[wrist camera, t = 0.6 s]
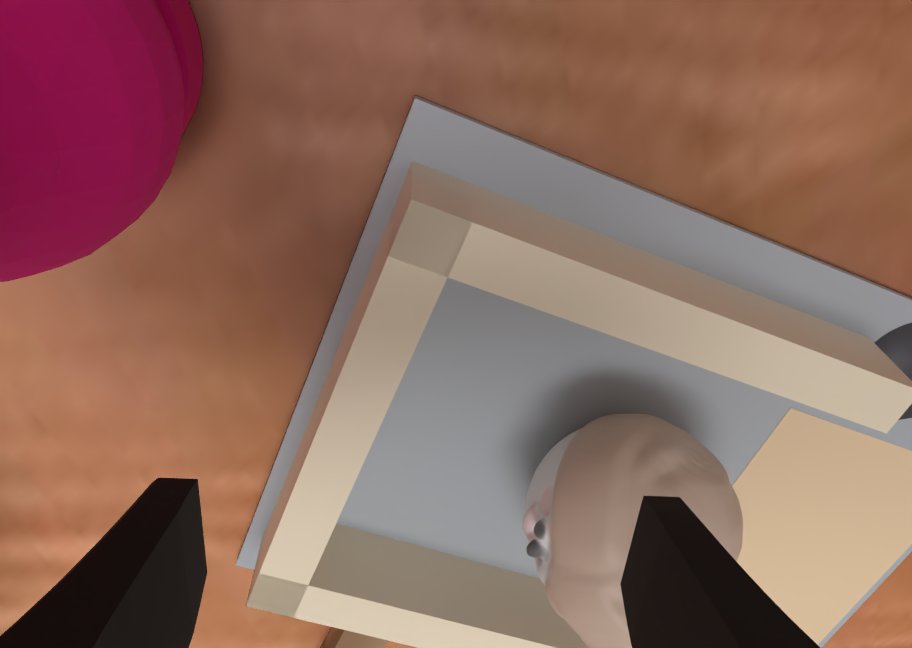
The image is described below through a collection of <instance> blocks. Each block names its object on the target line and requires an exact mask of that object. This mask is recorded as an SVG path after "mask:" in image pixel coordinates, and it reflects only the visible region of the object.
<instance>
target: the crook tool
mask: <svg viewBox="0 0 912 648" xmlns="http://www.w3.org/2000/svg"><path fill="white" fill-rule="evenodd" d="M387 642H388V640H384V639H380V638H376V637H371V636H367V635H363V634H359V633H355V632H351V631H347V630H342V629H338V628H334V627H331V629H330V631H329V633H328V635H327V637H326V638H325V640H324V642H323V644H322V646H321V648H384V647H385V646H386V644H387Z"/></svg>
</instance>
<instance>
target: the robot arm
mask: <svg viewBox="0 0 912 648" xmlns="http://www.w3.org/2000/svg"><path fill="white" fill-rule="evenodd" d="M206 575H207V566H206V556H205V546H204V537H203V527H202V517H201V507H200V497H199V488H198V479H178V478H158V479H156V480H155V481H154V482H153V483H151V485H150V486H149V487H148V488H147V489H146V490H145V491H144V492H143V493H142V495H141V496H140V497H139V498H138V499H137V500H136V501H135V502H134V504H133V505H132V506H131V507H130V508H129V509H128V510H127V511H126V512H125V514H124V515H123V516H122V517H121V518H120V519H119V520H118V521H117V522H116V523H115V525H114V526H113V527H112V528H111V529H110V530H109V531H108V532H107V533H106V534H105V535H104V536H103V537H102V539H101V540H100V541H99V542H98V543H97V544H96V545H95V546H94V547H93V548H92V549H91V550H90V551H89V552H88V553H87V554H86V555H85V556H84V557H83V558H82V559H81V560H80V561H79V562H78V563H77V564H76V565H75V566H74V567H73V568H72V569H71V570H70V571H69V572H68V573H67V574H66V575H65V576H64V577H63V578H62V579H61V580H60V581H59V582H58V583H57V584H56V585H55V586H54V587H53V588H52V589H51V590H50V591H49V592H48V593H47V594H46V595H45V596H43V597H42V598H41V599H40V600H39V601H38V602H37V603H36V604H35V605H34V606H33V607H32V608H31V609H30V610H28V611H27V612H26V613H25V614H24V615H23V616H22V617H21V618H20V619H19V620H18V621H17V622H16V623H15V624H13V625H12V626H11V627H10V628H9V629H8V630H7V631H5V632H4V633H3V634H2V635H1V636H0V648H189V645H190V642H191V639H192V636H193V633H194V628H195V624H196V620H197V616H198V611H199V607H200V603H201V598H202V593H203V589H204V584H205V580H206ZM620 585H621V591H622V597H623V603H624V609H625V615H626V620H627V626H628V631H629V636H630V641H631V645H632V648H820V647H819V646H818V645H817V644H816V643H815V642H814V641H813V640H812V639H811V638H810V637H809V636H808V635H807V634H806V633H805V632H804V631H803V630H802V629H801V628H800V627H799V626H798V625H797V624H796V623H794V622H793V621H792V620H791V619H790V618H789V617H788V616H787V615H786V614H785V613H784V612H783V611H782V610H781V608H780V607H779V606H778V605H777V604H776V603H775V602H774V601H773V600H772V599H771V598H770V597H769V596H768V595H767V594H766V593H765V592H764V591H763V590H762V589H761V588H760V587H759V586H758V584H757V583H756V582H755V581H754V580H753V579H752V578H751V577H750V576H749V575H748V574H747V573H746V571H745V570H744V569H743V568H742V567H741V566H740V565H739V564H738V563H737V562H736V560H735V559H734V558H733V557H732V556H731V555H730V554H729V553H728V551H727V550H726V549H725V548H724V547H723V546H722V545H721V544H720V542H719V541H718V540H717V539H716V538H715V537H714V536H713V534H712V533H711V532H710V531H709V530H708V529H707V527H706V526H705V525H704V524H703V523H702V522H701V521H700V519H699V518H698V517H697V516H696V515H695V514H694V513H693V511H692V510H691V509H690V508H689V507H688V506H687V505H686V504H685V502H684V501H683V500H682V499H681V498H680V497H668V496H643V499H642V503H641V507H640V511H639V515H638V518H637V522H636V526H635V530H634V534H633V537H632V541H631V545H630V549H629V553H628V557H627V560H626V564H625V568H624V572H623V576H622V579H621V583H620Z"/></svg>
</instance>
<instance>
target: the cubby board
mask: <svg viewBox="0 0 912 648" xmlns="http://www.w3.org/2000/svg"><path fill="white" fill-rule="evenodd" d="M612 414H647V415H652V416H655V417H658V418H660V419H662V420H664V421H666V422H668V423H670V424H672V425H674V426H676V427H678V428H680V429H682V430H684V431H685V432H687V433H688V434H690V435H691V436H692V437H694V438H695V439H696V440H697V441H699V442H700V443H701V444H702V445H704V446H705V447H706V448H707V449H708V450H709V451H710V452H711V453H712V454H713V455H714V456H715V457H716V458H717V459H718V460H719V461H720V462H721V464H722V465H723V467H724V468H725V470H726V472H727V474H728V477H729V481H730V483H731V485H732V487H733V489H734V491H735V493H736V495H737V497H738V500H739V503H740V507H741V511H742V517H743V540H742V548H741V551H740V554H739V557H738V559H737V561H736V562H737V563H738V564H739V565H740V566H741V567H742V568H743V569H744V570H745V571H746V573H747V574H748V575H749V576H750V577H751V578H752V579H753V580H754V581H755V582H756V583H757V584H758V586H759V587H760V588H761V589H762V590H763V591H764V592H765V593H766V594H767V595H768V596H769V597H770V598H771V599H772V600H773V601H774V602H775V603H776V604H777V605H778V606H779V607H780V608H781V610H782V611H783V612H784V613H785V614H786V615H787V616H788V617H789V618H790V619H791V620H792V621H793V622H794V623H796V624H797V625H798V626H799V627H800V628H801V629H802V630H803V631H804V632H805V633H806V634H807V635H808V636H809V637H810V638H811V639H812V640H813V641H814V642H815V643H816V644H817V645H818V646H819V647H820V648H821V647H822V646H823V645H824V644H825V643H826V642H827V641H828V640H829V639H830V638H831V637H832V636H833V635H834V634H835V632H836V631H837V630H838V629H839V628H840V627H841V626H842V625H843V624H844V623H845V622H846V621H847V620H848V619H849V618H850V616H851V615H852V614H853V613H854V612H855V611H856V610H857V609H858V608H859V607H860V606H861V605H862V604H863V603H864V602H865V601H866V599H867V598H868V597H869V596H870V595H871V594H872V593H873V592H874V591H875V590H876V589H877V588H878V587H879V586H880V585H881V583H882V582H883V581H884V580H885V579H886V578H887V577H888V576H889V575H890V574H891V573H892V572H893V571H894V570H895V569H896V567H897V566H898V565H899V564H900V563H901V562H902V561H903V560H904V559H905V558H906V557H907V556H908V555H909V554H910V553H911V552H912V298H911V297H909V296H906V295H904V294H901V293H899V292H896V291H894V290H891V289H889V288H887V287H884V286H882V285H879V284H877V283H874V282H872V281H869V280H867V279H864V278H862V277H860V276H857V275H855V274H852V273H850V272H847V271H845V270H842V269H840V268H837V267H835V266H833V265H830V264H828V263H825V262H823V261H820V260H818V259H815V258H813V257H811V256H808V255H806V254H803V253H801V252H798V251H796V250H793V249H791V248H788V247H786V246H784V245H781V244H779V243H776V242H774V241H771V240H769V239H766V238H764V237H761V236H759V235H757V234H754V233H752V232H749V231H747V230H744V229H742V228H739V227H737V226H735V225H732V224H730V223H727V222H725V221H722V220H720V219H717V218H715V217H712V216H710V215H708V214H705V213H703V212H700V211H698V210H695V209H693V208H690V207H688V206H685V205H683V204H681V203H678V202H676V201H673V200H671V199H668V198H666V197H663V196H661V195H659V194H656V193H654V192H651V191H649V190H646V189H644V188H641V187H639V186H636V185H634V184H632V183H629V182H627V181H624V180H622V179H619V178H617V177H614V176H612V175H609V174H607V173H605V172H602V171H600V170H597V169H595V168H592V167H590V166H587V165H585V164H583V163H580V162H578V161H575V160H573V159H570V158H568V157H565V156H563V155H560V154H558V153H556V152H553V151H551V150H548V149H546V148H543V147H541V146H538V145H536V144H534V143H531V142H529V141H526V140H524V139H521V138H519V137H516V136H514V135H511V134H509V133H507V132H504V131H502V130H499V129H497V128H494V127H492V126H489V125H487V124H484V123H482V122H480V121H477V120H475V119H472V118H470V117H467V116H465V115H462V114H460V113H458V112H455V111H453V110H450V109H448V108H445V107H443V106H440V105H438V104H435V103H433V102H431V101H428V100H426V99H423V98H421V97H418V96H416V95H415V97H414V100H413V102H412V105H411V107H410V110H409V113H408V115H407V118H406V120H405V123H404V126H403V128H402V131H401V133H400V136H399V139H398V141H397V144H396V147H395V149H394V152H393V154H392V157H391V160H390V162H389V165H388V167H387V170H386V173H385V175H384V178H383V180H382V183H381V186H380V188H379V191H378V193H377V196H376V199H375V201H374V204H373V206H372V209H371V212H370V214H369V217H368V219H367V222H366V225H365V227H364V230H363V233H362V235H361V238H360V240H359V243H358V246H357V248H356V251H355V253H354V256H353V259H352V261H351V264H350V266H349V269H348V272H347V274H346V277H345V279H344V282H343V285H342V287H341V290H340V292H339V295H338V298H337V300H336V303H335V306H334V308H333V311H332V313H331V316H330V319H329V321H328V324H327V326H326V329H325V332H324V334H323V337H322V339H321V342H320V345H319V347H318V350H317V352H316V355H315V358H314V360H313V363H312V365H311V368H310V371H309V373H308V376H307V379H306V381H305V384H304V386H303V389H302V392H301V394H300V397H299V399H298V402H297V405H296V407H295V410H294V412H293V415H292V418H291V420H290V423H289V425H288V428H287V431H286V433H285V436H284V438H283V441H282V444H281V446H280V449H279V451H278V454H277V457H276V459H275V462H274V465H273V467H272V470H271V472H270V475H269V478H268V480H267V483H266V485H265V488H264V491H263V493H262V496H261V498H260V501H259V504H258V506H257V509H256V511H255V514H254V517H253V519H252V522H251V524H250V527H249V530H248V532H247V535H246V538H245V540H244V543H243V545H242V548H241V551H240V553H239V556H238V558H237V562H236V566H240V567H244V568H248V569H252V570H254V574H253V578H252V582H251V586H250V590H249V595H248V599H247V603H246V606H247V607H251V608H255V609H259V610H263V611H267V612H272V613H276V614H280V615H284V616H288V617H292V618H297V619H301V620H305V621H309V622H313V623H317V624H322V625H326V626H330V627H334V628H338V629H342V630H347V631H351V632H355V633H359V634H363V635H367V636H371V637H376V638H380V639H384V640H388V641H392V642H396V643H401V644H405V645H409V646H413V647H417V648H590V647H588V646H587V645H586V644H585V643H584V642H583V641H582V640H581V638H580V636H579V635H578V634H577V633H576V632H575V631H574V630H573V629H572V627H571V626H570V625H569V624H568V623H567V622H566V621H565V620H564V619H563V618H562V617H561V616H559V615H558V614H557V613H556V611H555V610H554V609H553V608H552V606H551V604H550V602H549V600H548V597H547V593H546V588H545V586H544V584H543V582H542V581H541V579H540V577H539V575H538V573H537V566H536V561H535V559H534V557H530V556H529V555H528V554H527V549H526V548H527V546H528V541H527V537H526V535H525V533H524V531H523V526H522V524H523V517H524V510H525V502H526V496H527V492H528V489H529V485H530V483H531V480H532V478H533V475H534V473H535V471H536V469H537V468H538V466H539V464H540V463H541V461H542V460H543V458H544V457H545V456H546V454H547V453H548V452H549V451H550V450H551V449H552V448H553V447H554V446H555V445H556V444H557V443H558V442H559V441H561V440H562V439H563V438H565V437H566V436H568V435H569V434H571V433H573V432H575V431H577V430H579V429H581V428H583V427H584V426H585V425H587V424H588V423H590V422H591V421H593V420H595V419H597V418H600V417H603V416H606V415H612Z"/></svg>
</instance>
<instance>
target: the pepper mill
mask: <svg viewBox="0 0 912 648" xmlns="http://www.w3.org/2000/svg"><path fill="white" fill-rule="evenodd" d="M202 76H203V56H202V47H201V40H200V35H199V31H198V27H197V24H196V21H195V18H194V15H193V12H192V10H191V7H190V5H189V3H188V1H187V0H0V282H4V281H10V280H14V279H18V278H23V277H27V276H31V275H34V274H38V273H41V272H44V271H47V270H51V269H54V268H57V267H60V266H63V265H65V264H68V263H70V262H73V261H75V260H77V259H80V258H82V257H85V256H87V255H90V254H91V253H93V252H94V251H96V250H97V249H98V248H100V247H101V246H103V245H104V244H106V243H107V242H108V241H110V240H111V239H113V238H114V237H115V236H117V235H118V234H119V233H121V232H122V231H123V230H124V229H126V228H127V227H128V226H129V225H131V224H132V223H133V222H134V221H136V220H137V219H138V218H139V217H140V216H141V215H142V214H143V213H144V211H145V210H146V209H147V208H148V207H149V206H150V205H151V204H152V203H153V202H154V200H155V199H156V197H157V195H158V194H159V192H160V190H161V189H162V187H163V185H164V184H165V182H166V180H167V179H168V177H169V175H170V173H171V171H172V168H173V165H174V163H175V159H176V155H177V152H178V148H179V144H180V141H181V137H182V133H183V132H184V131H185V129H186V127H187V126H188V124H189V122H190V120H191V118H192V116H193V114H194V112H195V110H196V106H197V103H198V100H199V97H200V92H201V86H202Z"/></svg>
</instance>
